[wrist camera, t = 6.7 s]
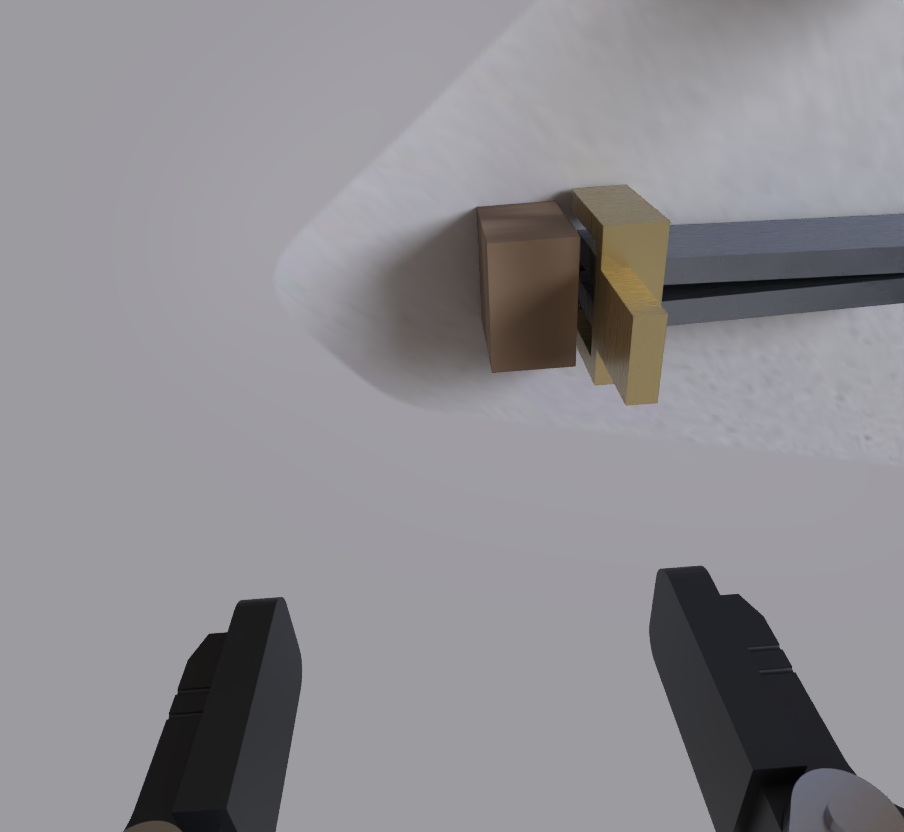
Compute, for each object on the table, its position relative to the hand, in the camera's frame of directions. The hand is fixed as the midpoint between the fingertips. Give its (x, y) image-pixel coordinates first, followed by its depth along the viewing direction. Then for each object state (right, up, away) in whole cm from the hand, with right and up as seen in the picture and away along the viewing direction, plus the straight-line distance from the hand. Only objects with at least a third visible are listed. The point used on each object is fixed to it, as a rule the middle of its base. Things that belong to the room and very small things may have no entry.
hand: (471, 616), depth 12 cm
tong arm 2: (+13, +11, +15) cm, 23 cm away
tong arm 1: (+13, +10, +16) cm, 23 cm away
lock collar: (+6, +10, +16) cm, 20 cm away
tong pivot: (+2, +10, +16) cm, 19 cm away
